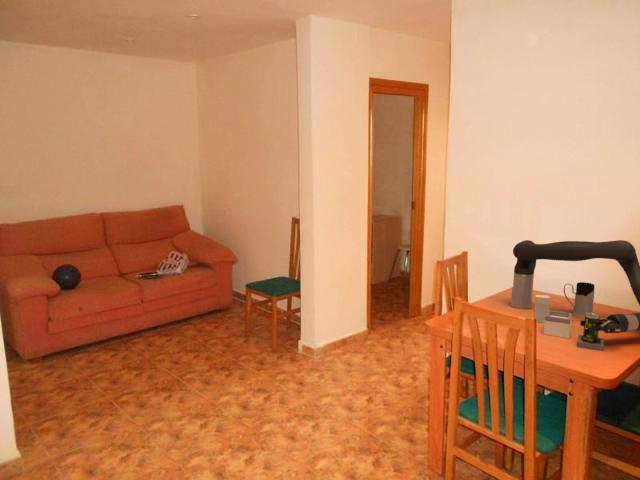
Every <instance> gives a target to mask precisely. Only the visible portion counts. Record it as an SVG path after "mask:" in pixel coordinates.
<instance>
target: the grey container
mask: <svg viewBox="0 0 640 480" xmlns="http://www.w3.org/2000/svg"><path fill="white" fill-rule="evenodd" d="M566 285H569V286H570V287H571V289H572V293H573V294H574V304H573V303H572V301H571V300H570V299H569V298H568V296H567V295H566V294H567V293H566ZM563 293H564V297H565V299H566V300H567V301H568V303H569V304H571V306H572V307H573V312H572V316H575V317H578V318H582V319H585V315H586V313H587V312H593V309H594V301H595V300H594V299H595V284H594V283H591V282H585V281H583V282H577V283H576V289H575V291H574V286H573V285H572V283H565V284H564V286H563Z"/></svg>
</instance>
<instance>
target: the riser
mask: <svg viewBox="0 0 640 480" xmlns="http://www.w3.org/2000/svg"><path fill="white" fill-rule="evenodd" d="M572 321H573V312H572V313H571V312H565V311H559V310H550V309H549V310H548V311H547V314H546V317H545V323H543V325H544V326H543V335H545V336H547V335H548V336H553V337H560V338H567V339H570V337H571V332H572Z"/></svg>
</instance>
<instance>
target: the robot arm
mask: <svg viewBox="0 0 640 480" xmlns="http://www.w3.org/2000/svg"><path fill="white" fill-rule="evenodd" d="M512 254H513V257H515V258H516V262H515V266H514V268H513V282H512V283H513V284H512V285H513V286H512V288H511V301H510V302H511V303H510V306H511V307H513V308H515V309H516V308H517V309H522V310H528V309H531V308H532V304H533V303H532V301H533V289H534V276H535V270H536V266H537V260H548V261H560V262H561V261H564V262H580V261H587V260H593V259H606V260H615V262H617V263H618V264H619V266H620V267H621V268H622V270H623V271H624V273H625V275H626V277H627V280H628V282H629V285H630V287H631V290H632V293H633V295H634V297H635V299H636V302H637V303H638V305H639V306H640V263H639V259H638V256H637V255H638V254H637V251H636V247H635V246H634V245H633V244H632V243H631V242H630V241H628V240H623V239H621V240H620V239H619V240H610V241H609V240H608V241H584V240H582V241H581V240H580V241H579V240H567V241H566V240H565V241H556V242H550V243H535V242H534V241H532V240H529V239H526V240H522V241H520V242H518V243H517V244H515V245H514V247H513V249H512ZM584 321H585V319H583V320H582V319H581V320H580V322H579V325H580V326H581V327H584ZM590 331H599V332H601V333H604V334H620V333H630V332H636V331H640V312H635V313H634V312H632V313H628V312H627V313H625V312H624V313H614V314H613V313H612V314H609V315H608V316H607V317H602V318H601V317H600V322H599V325H593V326H591V327H590Z"/></svg>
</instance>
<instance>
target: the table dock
mask: <svg viewBox="0 0 640 480" xmlns="http://www.w3.org/2000/svg"><path fill="white" fill-rule="evenodd" d="M604 346H605V338H603V337H598V341H597V344H593V343H586V342H583V334H578V337H577V342H576V347H577V348H581V349H582V348H583V349H589V350H594V351H601V352H604Z"/></svg>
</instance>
